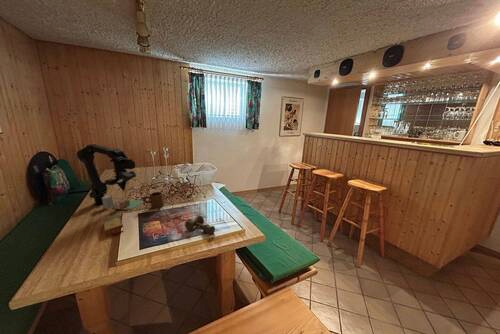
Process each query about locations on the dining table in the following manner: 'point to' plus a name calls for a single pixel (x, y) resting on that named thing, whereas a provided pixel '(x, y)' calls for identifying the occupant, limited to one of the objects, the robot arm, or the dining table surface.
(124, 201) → the walnut block
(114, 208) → the batten
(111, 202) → the grey block
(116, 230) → the carton
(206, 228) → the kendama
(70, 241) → the dining table surface
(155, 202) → the mug
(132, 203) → the felt mat
